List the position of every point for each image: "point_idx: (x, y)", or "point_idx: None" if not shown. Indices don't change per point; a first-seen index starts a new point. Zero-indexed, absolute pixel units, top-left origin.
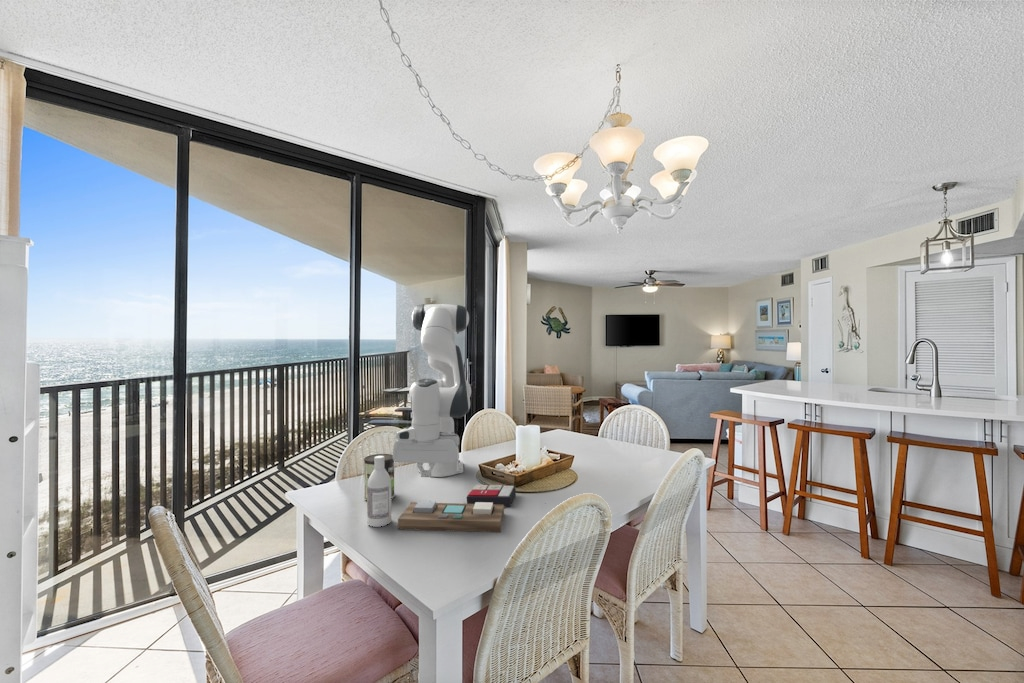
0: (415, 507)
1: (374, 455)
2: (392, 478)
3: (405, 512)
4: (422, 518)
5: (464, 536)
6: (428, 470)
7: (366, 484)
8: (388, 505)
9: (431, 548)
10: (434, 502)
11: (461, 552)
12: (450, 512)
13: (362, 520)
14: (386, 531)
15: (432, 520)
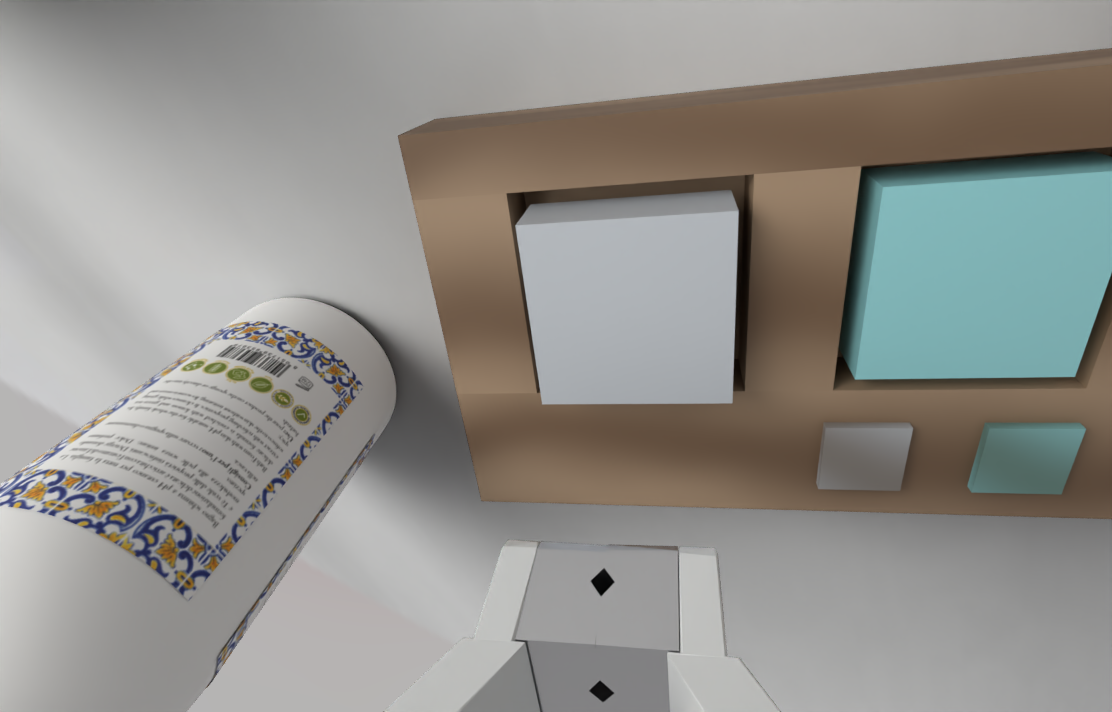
0: (556, 403)
1: None
2: None
3: (477, 392)
4: (674, 489)
5: (1031, 526)
6: (650, 672)
7: None
8: (332, 495)
9: (803, 640)
10: (724, 253)
11: (997, 678)
12: (938, 377)
13: (182, 342)
14: (444, 478)
15: (769, 505)
